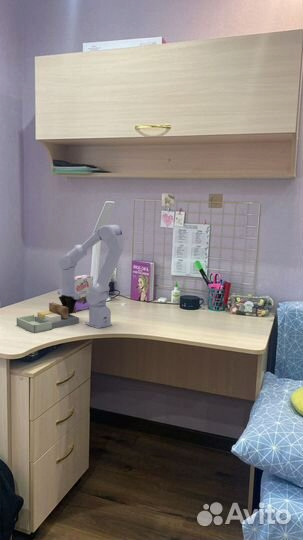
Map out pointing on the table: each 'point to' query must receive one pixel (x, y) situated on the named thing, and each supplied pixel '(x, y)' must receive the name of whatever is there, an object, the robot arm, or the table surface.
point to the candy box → (83, 291)
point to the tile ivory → (52, 317)
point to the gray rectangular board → (44, 323)
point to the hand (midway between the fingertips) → (68, 312)
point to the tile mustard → (43, 314)
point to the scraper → (60, 310)
